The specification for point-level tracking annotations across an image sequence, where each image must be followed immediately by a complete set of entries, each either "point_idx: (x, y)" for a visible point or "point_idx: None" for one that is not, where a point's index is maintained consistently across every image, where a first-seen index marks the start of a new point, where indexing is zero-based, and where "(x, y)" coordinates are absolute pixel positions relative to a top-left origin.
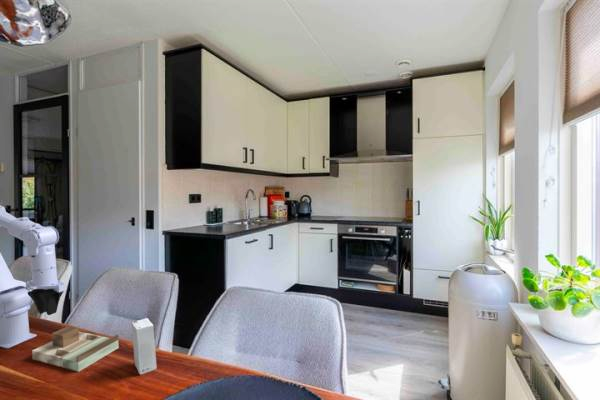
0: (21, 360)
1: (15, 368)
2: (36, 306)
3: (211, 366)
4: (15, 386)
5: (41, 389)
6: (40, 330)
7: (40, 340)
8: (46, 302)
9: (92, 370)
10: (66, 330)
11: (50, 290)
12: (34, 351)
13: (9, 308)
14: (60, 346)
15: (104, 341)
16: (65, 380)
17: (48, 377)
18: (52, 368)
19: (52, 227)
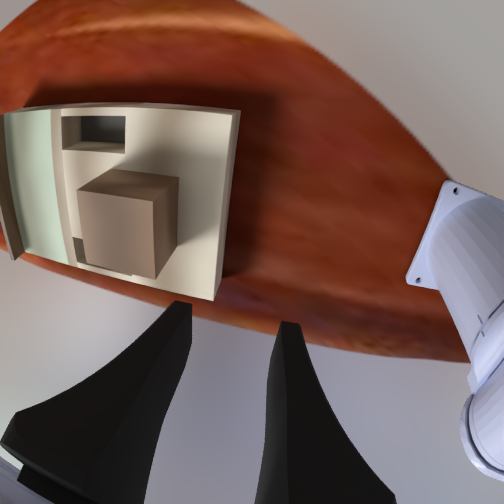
0: (285, 94)
1: (243, 39)
2: (308, 371)
3: None
4: None
5: (41, 13)
6: (423, 314)
7: (362, 252)
8: (96, 378)
9: None
10: (115, 240)
11: (41, 490)
12: (213, 113)
13: None
14: (126, 171)
15: (2, 217)
16: (20, 66)
17: (66, 50)
18: (97, 85)
19: None
